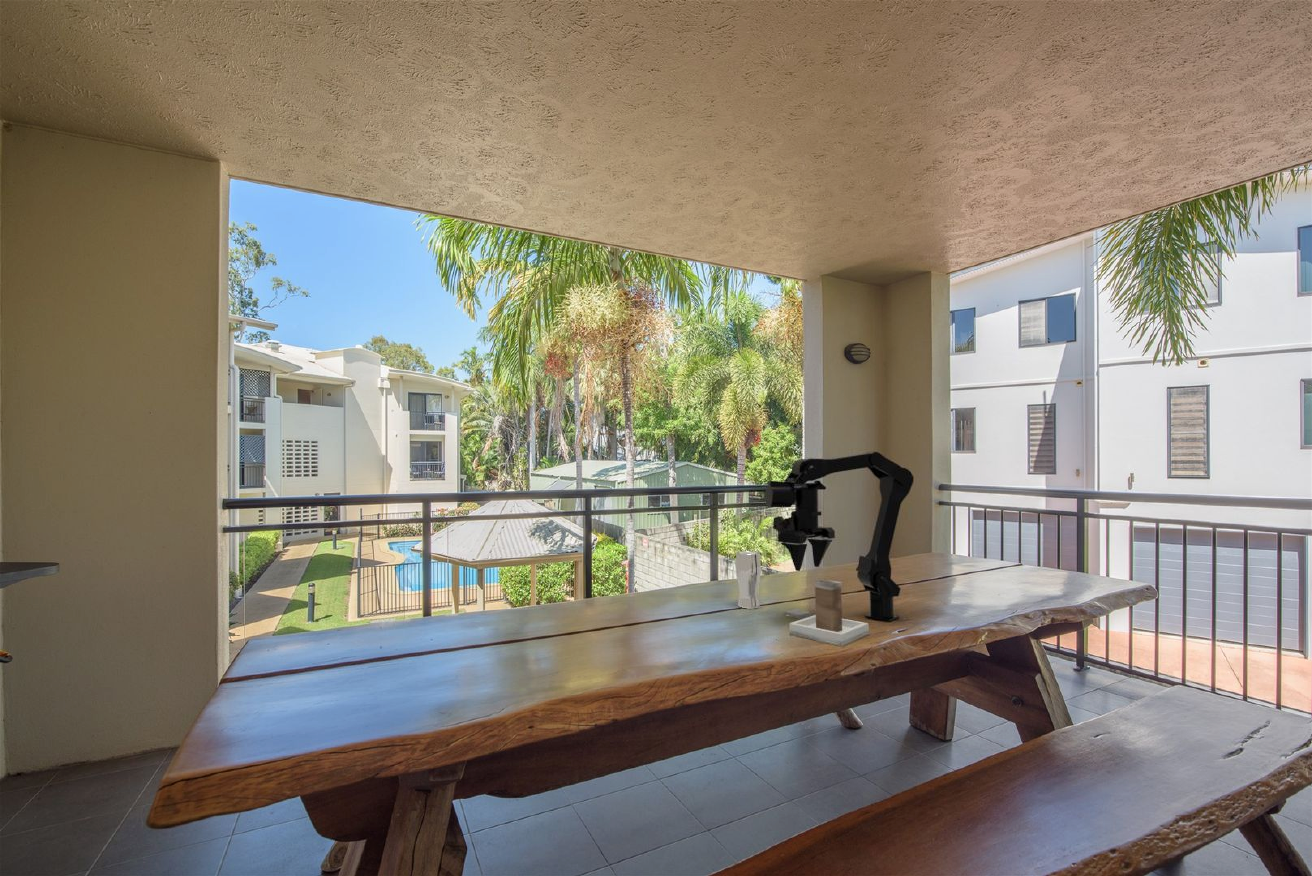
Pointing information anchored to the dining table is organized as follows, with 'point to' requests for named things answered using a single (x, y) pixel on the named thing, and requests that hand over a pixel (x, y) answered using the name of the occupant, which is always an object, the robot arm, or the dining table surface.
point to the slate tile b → (797, 613)
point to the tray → (841, 638)
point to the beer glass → (748, 578)
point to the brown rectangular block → (828, 605)
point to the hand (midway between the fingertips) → (807, 568)
